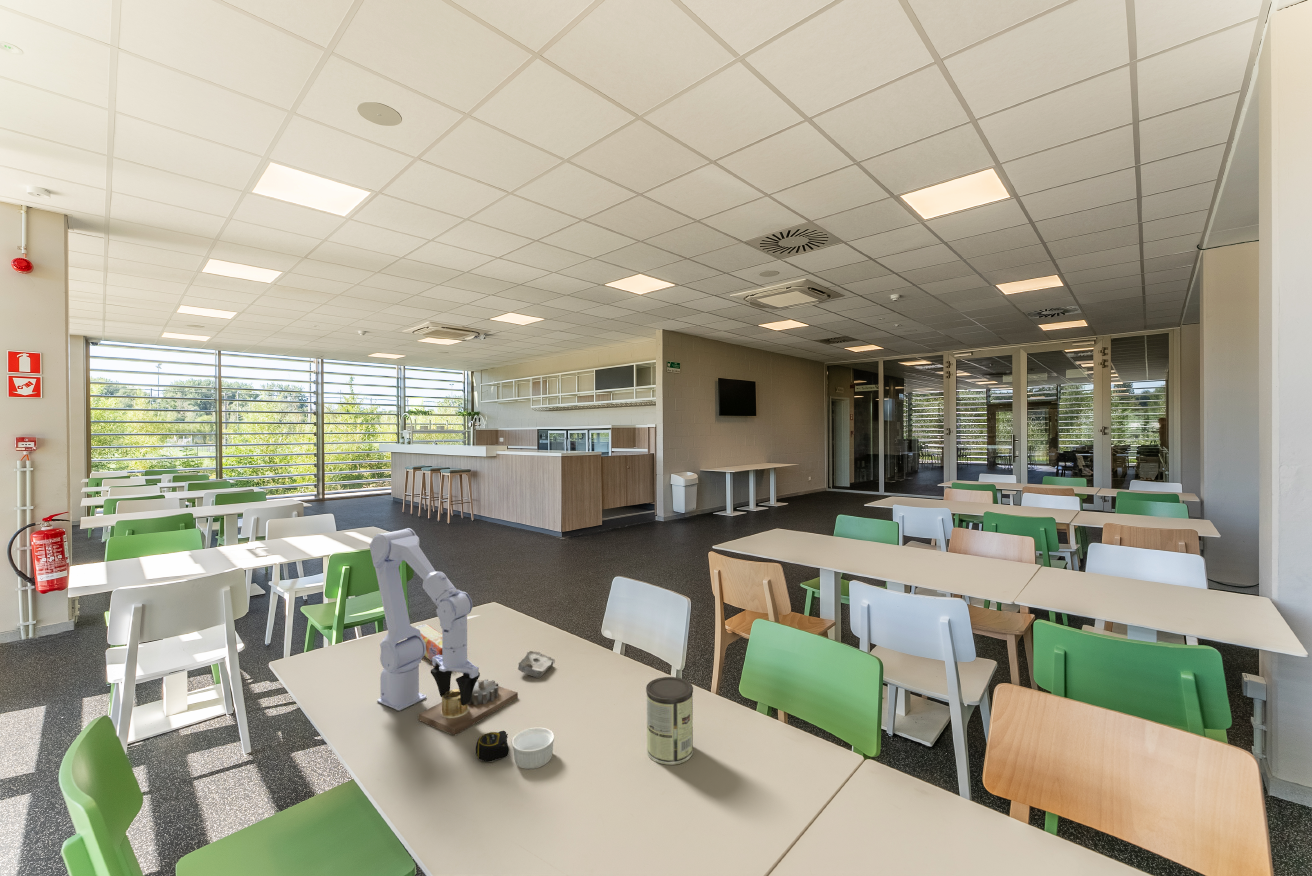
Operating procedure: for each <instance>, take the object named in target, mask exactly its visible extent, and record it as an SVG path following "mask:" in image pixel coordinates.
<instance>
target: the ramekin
mask: <svg viewBox="0 0 1312 876" xmlns="http://www.w3.org/2000/svg"><path fill="white" fill-rule="evenodd" d="M554 741H555V734H554V732H553V731H552V730H551V729H549V728H546V727H531V728H526V729H523V730H521V731H519V732H518V733H516V735H514V736H513V738H512V740H511V746H512V750H513V758H514V763H515V764H516V765H517V767H519V768H522V769H525V770H533V769H538V768H541V767H543V766H545V765H546V764H547V763H549V761H550V760H551V759H552V757H553V751H554Z"/></svg>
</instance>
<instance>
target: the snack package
mask: <svg viewBox="0 0 1312 876" xmlns="http://www.w3.org/2000/svg"><path fill="white" fill-rule="evenodd" d="M414 628H416V629H419V630H420V634H421V637H422V639H423V640H424V642H425V645H426V653H425V655H424V657H425V658H426V659H429V661H431V662H432V657H434V656H437V655H442V633H441V632H440V631H438V630H436V629H435V628H434V627H432V626H431V625H429V624H420V625H417V626H415V627H414Z"/></svg>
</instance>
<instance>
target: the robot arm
mask: <svg viewBox="0 0 1312 876" xmlns="http://www.w3.org/2000/svg"><path fill="white" fill-rule="evenodd" d="M369 551H370V555H371V560H372V561H371V562H372V565H373V567H374V568H375V573H376V574H375V575H376V579H377V583H378V589H379V593H380V598H381V602H382V608H383V614H384V618H385V624H386V627H387V628H386V629H387V634H386V635H384V637H383V639H382V640H381V641H380V643H379V646H380V656H379V660H380V661H379V662H380V665H381V666H382V668H383V669H382V671H381V672H380V677H379V678H380V680H379V681H380V683H379V684H380V688H379V689H380V690H379V691H380V698H377V701H376V702H377V703H380V704H382V705H384V706H387V707H390V708H392V709H394V710H396V711H399V712H400V711H402V710H404V709H406V708H408V707H411V706H412V705H414V704H417V703H419V702H421V701H423V700H425V699H427V695H426V694H423V693H420V682H419V681H420V669H419V668H420V664H421V663H422V658H423V657H425V656H424V655H425V653H426V645H425V642H424V640H423V639H422V637H421V634H420V630H419V629H416V628H415V627H414V626H412V625H411V621H410V616H409V613H408V606H407V602H406V598H405V592H404V588H403V582H402V578H401V574H400V568H399V567H400V565H401V563H402V562H403V561H405V563H407V565H408V566H409V567H410V568H411V569H412V570H413V571H414V572H415V573H416V574H417V576H419V577H420V579H422V580H423V581H422V589H423V590H424V591H425V593H426V594H427V595H428V596H429V598H430V599H431V600H432V602H433V603H434V604H435V605H436V606H437V608H436V609H435V611H436V615H437V617H438V619H439V626H440V628H441V631H442V633H441V634H442V655H437V656H434V657H432V661H431V663H432V666H434V668H432V669H430V674H431V676H432V677H433V679H434V681H435V684H436V686H437V688H438V689H437V690H438V692H439V696H440V698H442V695H444V694H445V693H446V692H447V691H451V679H452V673H453V672H458V673H460V674H462V675H461V676H459V677H457V678H455V681H456V684H457V686H458V689H459V690H460V700H461V705H463V706H464V705H466V704H468V703H469V702H470V700H471V696H472V692H473V689H474V686H475V684H476V682H477V681H478V680H479V678H480V676H481V675H480V674H481V673H480V672H479V671H480V670H479V666H476V665H475V664H473V662H472V661H470V660H469V659H468V615H470V613H471V611H472V610H473V600H472V598H471V596H470V595H469V593H467V592H466V591H462V590H460V589H457V587H455V586H454V584H453V583H452V582H451V581H450V579H449V578H448V577H447V575H446V573H444V572H443V571H438V570H437V571H436V570H435V568H434V567H433V565H432V564H431V562H430V560H429V559H428V558H427V556H426V554H425V553H424V552H423V550H422V549H421V548H420V537H419V536H418V535H417V534H416V532H415V530H414V529H412V528H409V527H407V528H404V529H399V530H394V531H390V532H385V533H377V534H375V535H374V536H373V538H372V539H371V542H370V544H369Z"/></svg>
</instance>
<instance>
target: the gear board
mask: <svg viewBox="0 0 1312 876" xmlns="http://www.w3.org/2000/svg"><path fill="white" fill-rule="evenodd" d="M518 697H519V693H518V691H513V690H512V689H508V688H505V687H503V686H500V685H499V683H498V682H496V681H495V680H489V679H484V680H483V679H480V680H479V679H478V680H477V682H476V684H475V686H474V689H473V692H472V696H471V700H470V702H469V703H468V708H467V710H465V712H464V713H463V714H460V715H457V716H455V717H452V716H444V714H443V713H442V701H441V702H439V703H437V704H435V705H433V706H431V707H429V708H428V709H426V710H423V711H422V712H419V713H418V717H417V718H418V722H419V721H420V722H421V723H424V724H427V725H429V726H431V727H433V728H435V729H438V730H440V731H443V732H445V733H447V734H450V735H453V736H457V735H458V734H460V733H462V732H463V731H465V730H466V729H469V728H470V727H471V726H473V725H475V724H477V723H478V722H480V721H482V720H483V719H485V718H487V717H488V716H491V715H492V714H493V713H494V714H495V713H496V712H498V711H499V710H500V709H502V708H504V707H506V706H507V705H509V704H510V703H512V702H514V701H515V700H517V699H519V698H518Z"/></svg>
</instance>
